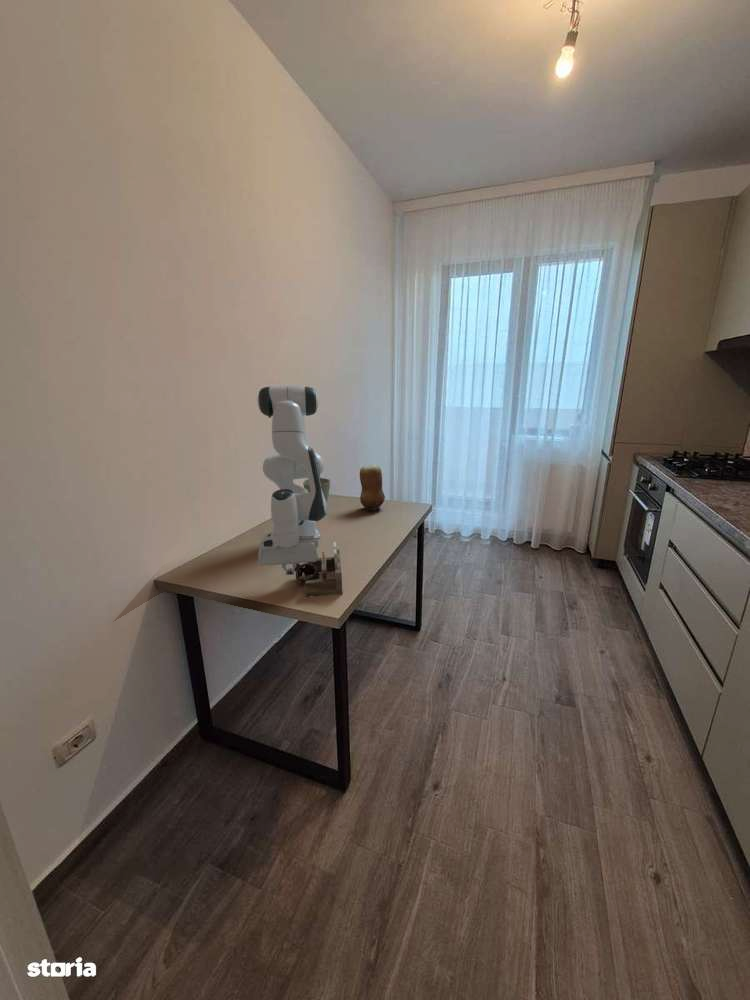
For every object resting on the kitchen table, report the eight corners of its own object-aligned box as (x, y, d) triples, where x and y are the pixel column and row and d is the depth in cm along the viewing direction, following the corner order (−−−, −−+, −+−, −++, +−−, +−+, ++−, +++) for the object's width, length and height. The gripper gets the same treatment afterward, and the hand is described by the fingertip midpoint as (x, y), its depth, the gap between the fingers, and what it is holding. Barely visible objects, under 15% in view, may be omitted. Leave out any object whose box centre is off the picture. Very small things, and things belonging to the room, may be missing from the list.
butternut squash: (363, 505, 227) (361, 462, 220) (386, 506, 225) (386, 462, 217) (358, 513, 214) (356, 467, 207) (382, 514, 212) (382, 468, 204)
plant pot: (303, 513, 215) (301, 485, 211) (306, 505, 230) (304, 478, 225) (331, 512, 216) (330, 484, 212) (332, 504, 231) (330, 477, 226)
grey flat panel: (322, 574, 147) (321, 546, 143) (327, 573, 147) (325, 546, 144) (322, 587, 137) (321, 558, 134) (327, 587, 137) (325, 558, 134)
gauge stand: (308, 571, 150) (305, 539, 147) (340, 568, 152) (338, 536, 148) (306, 597, 132) (303, 561, 129) (342, 594, 134) (340, 558, 130)
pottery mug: (327, 579, 145) (324, 566, 139) (311, 599, 140) (307, 587, 134) (302, 564, 150) (298, 552, 143) (285, 583, 144) (280, 571, 138)
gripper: (318, 532, 140) (320, 567, 144) (258, 535, 138) (262, 572, 142) (317, 538, 134) (320, 576, 138) (255, 542, 132) (259, 580, 136)
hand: (290, 574), depth 140 cm, fingers closed
